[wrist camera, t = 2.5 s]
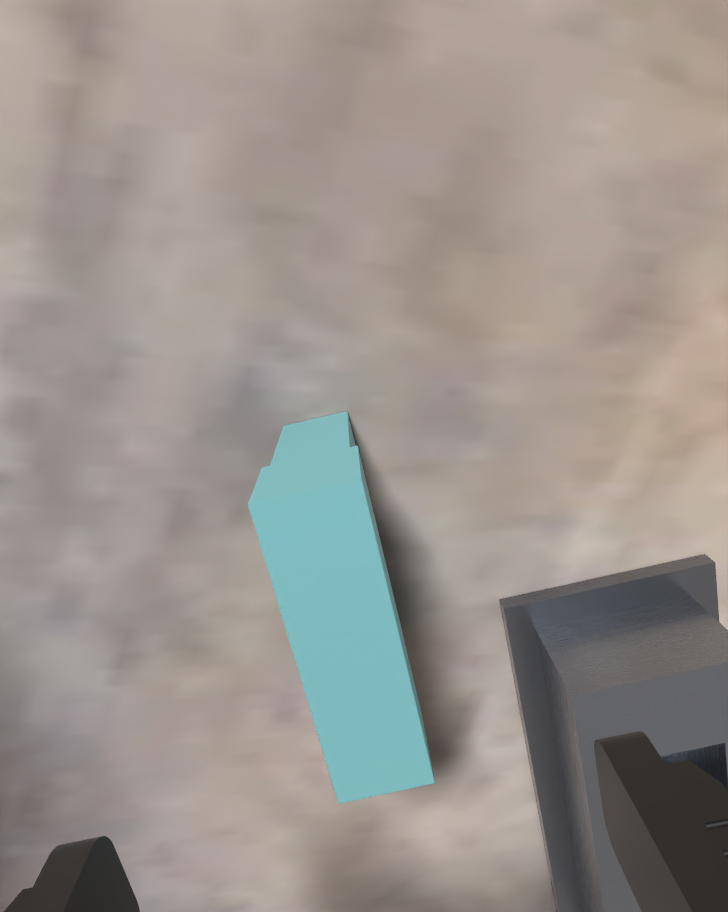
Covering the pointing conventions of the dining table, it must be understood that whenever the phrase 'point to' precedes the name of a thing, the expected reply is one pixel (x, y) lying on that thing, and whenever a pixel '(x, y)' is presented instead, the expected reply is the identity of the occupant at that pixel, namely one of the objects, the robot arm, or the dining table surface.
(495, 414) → the dining table surface
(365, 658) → the clip
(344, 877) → the dining table surface
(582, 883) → the grey hollow block
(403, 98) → the dining table surface
